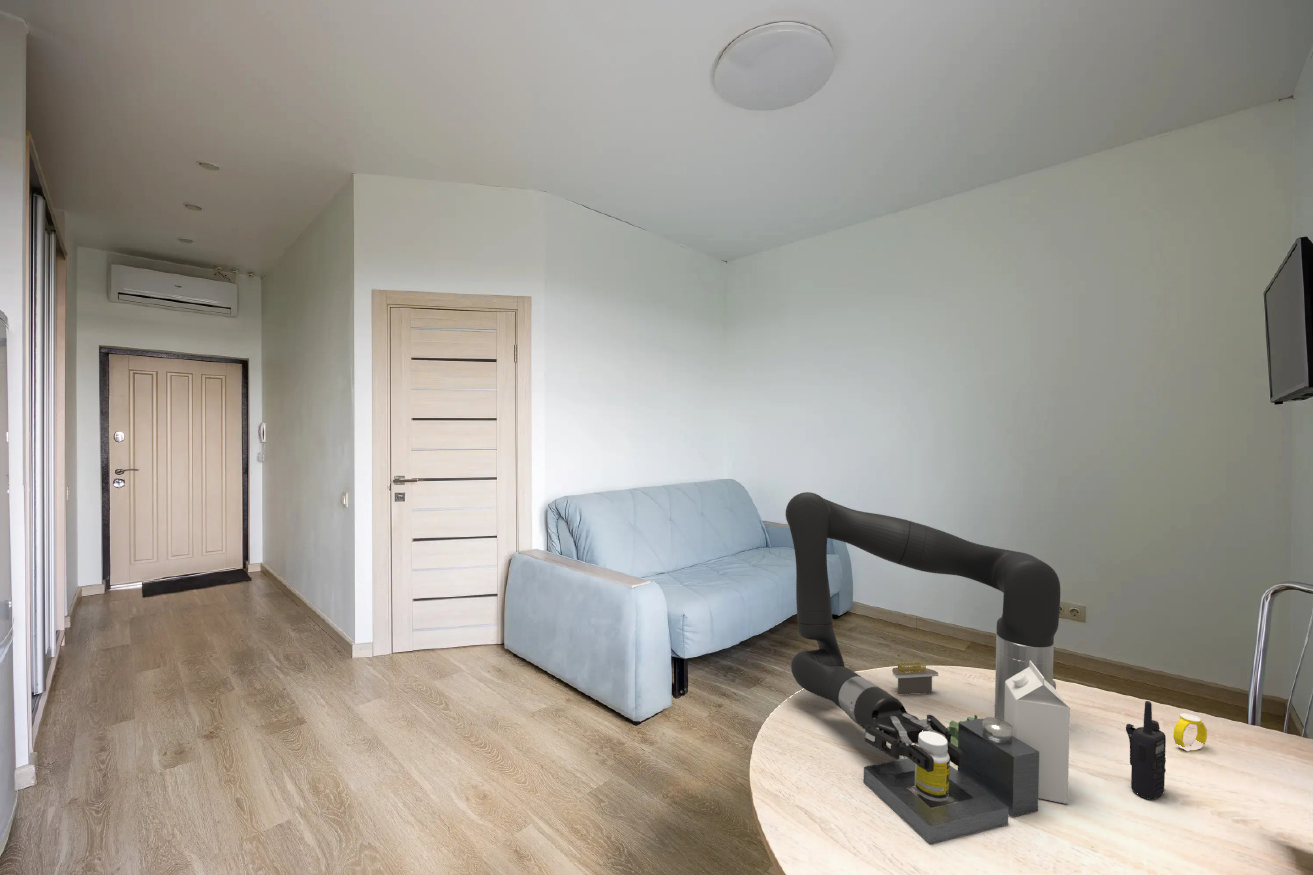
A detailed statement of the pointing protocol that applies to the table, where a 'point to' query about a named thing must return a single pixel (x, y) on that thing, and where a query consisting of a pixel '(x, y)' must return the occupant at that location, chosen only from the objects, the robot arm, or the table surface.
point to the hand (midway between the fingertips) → (946, 762)
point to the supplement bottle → (937, 780)
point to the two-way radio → (1147, 756)
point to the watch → (1183, 723)
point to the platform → (914, 678)
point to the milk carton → (1041, 728)
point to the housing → (966, 784)
